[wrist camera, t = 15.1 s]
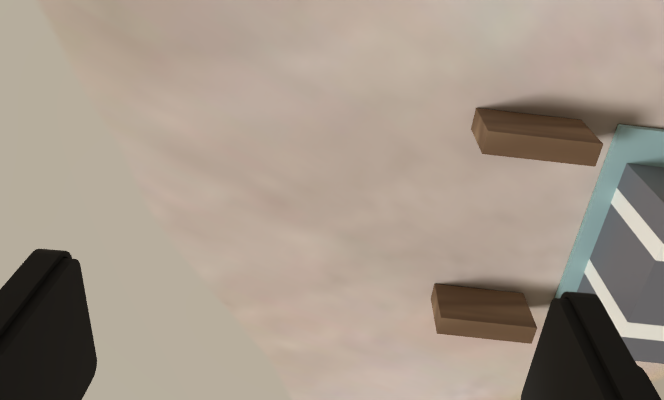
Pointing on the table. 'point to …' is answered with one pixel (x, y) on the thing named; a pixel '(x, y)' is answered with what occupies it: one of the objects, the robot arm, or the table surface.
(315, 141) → the table surface
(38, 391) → the robot arm
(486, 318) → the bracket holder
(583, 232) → the rubber mat
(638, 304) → the banded grey block
